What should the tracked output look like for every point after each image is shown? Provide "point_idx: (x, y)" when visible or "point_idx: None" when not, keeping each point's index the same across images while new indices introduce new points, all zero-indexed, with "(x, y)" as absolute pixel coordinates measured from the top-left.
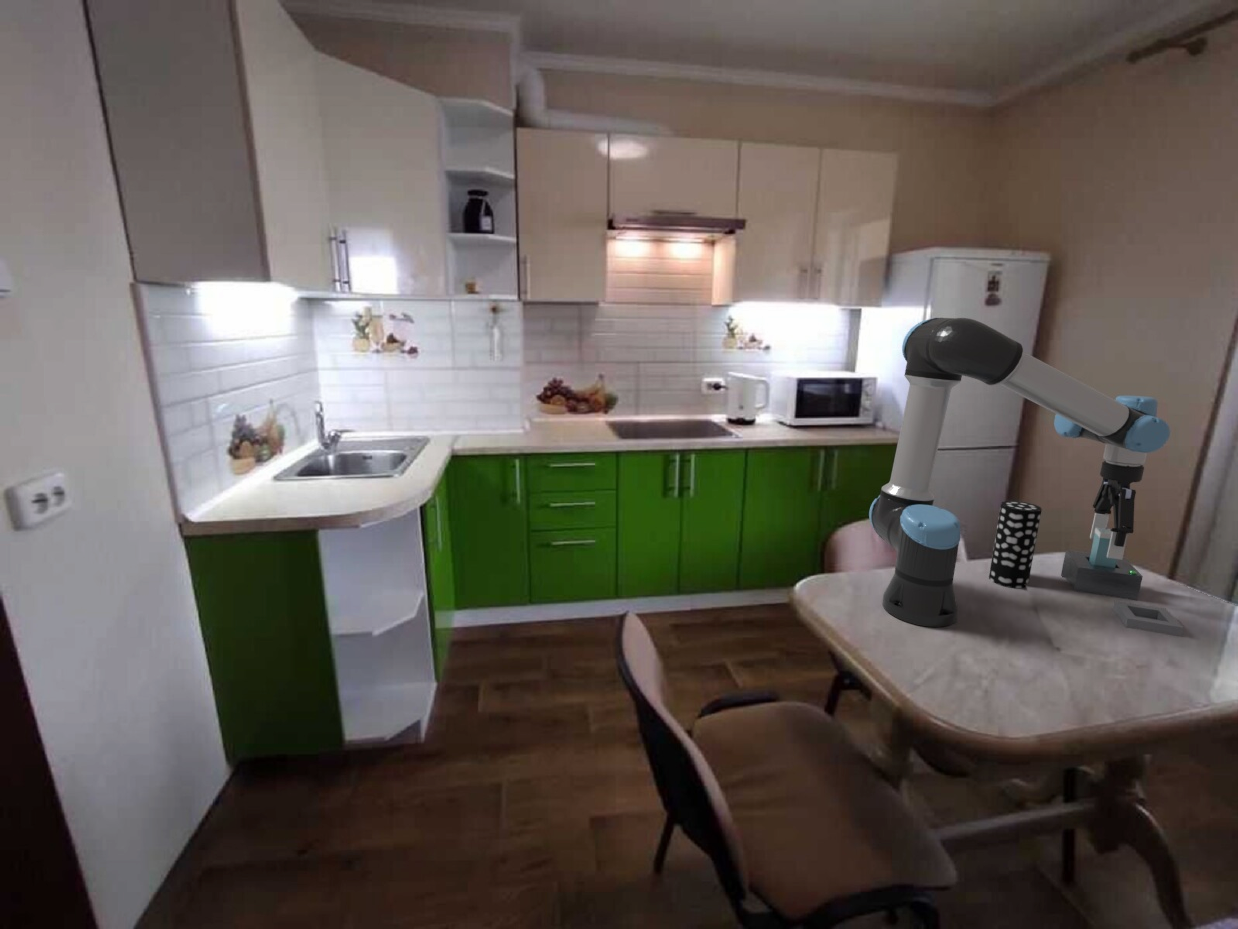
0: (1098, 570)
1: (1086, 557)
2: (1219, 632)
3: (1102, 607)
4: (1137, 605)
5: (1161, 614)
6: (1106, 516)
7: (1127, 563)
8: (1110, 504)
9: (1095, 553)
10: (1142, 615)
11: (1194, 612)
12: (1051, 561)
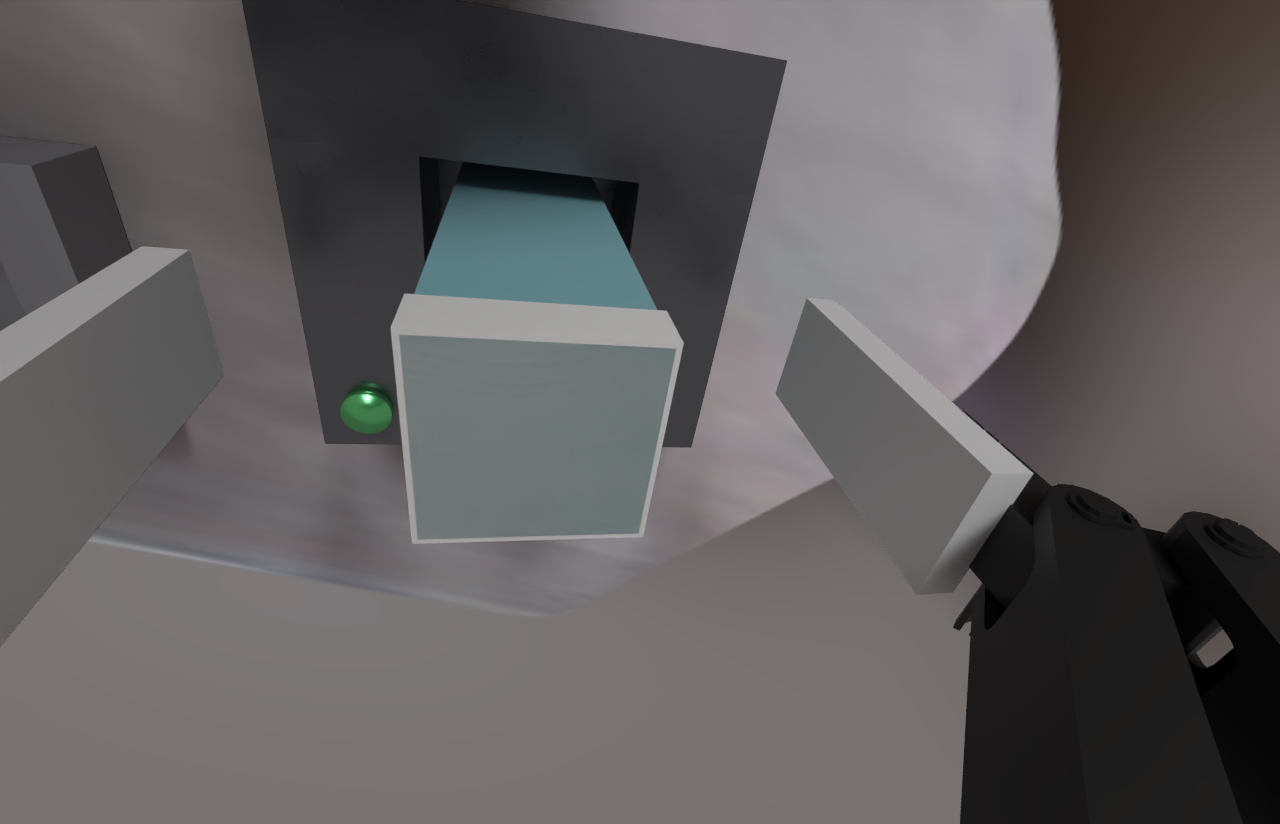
0: (274, 164)
1: (635, 193)
2: (209, 543)
3: (173, 120)
4: (55, 296)
5: None
6: (918, 560)
7: None
8: (984, 797)
9: (483, 224)
10: None
11: (409, 525)
12: (952, 89)
